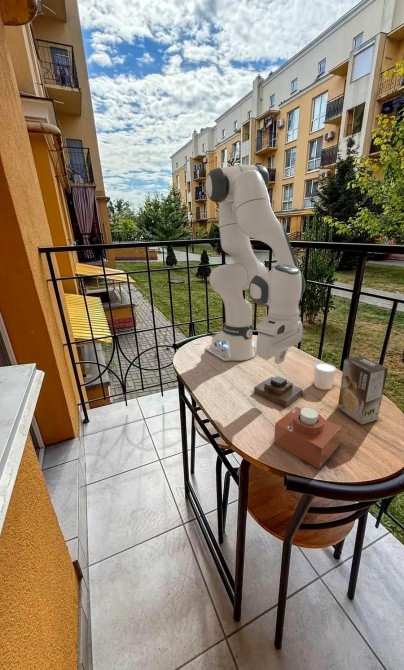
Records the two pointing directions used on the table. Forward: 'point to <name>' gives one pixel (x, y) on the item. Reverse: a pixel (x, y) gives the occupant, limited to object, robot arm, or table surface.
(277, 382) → the switch button
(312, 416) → the white push button
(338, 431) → the push button box
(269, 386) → the switch block
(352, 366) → the coffee box
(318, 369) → the white cylinder
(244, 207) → the robot arm
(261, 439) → the table surface
